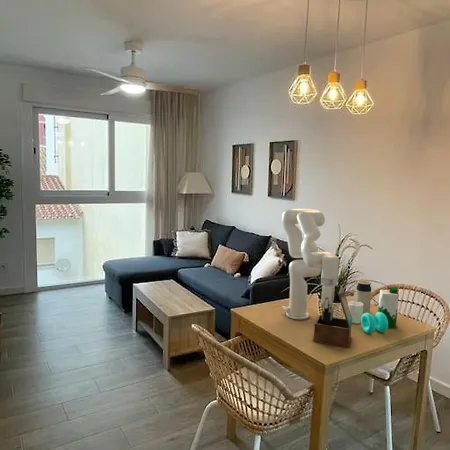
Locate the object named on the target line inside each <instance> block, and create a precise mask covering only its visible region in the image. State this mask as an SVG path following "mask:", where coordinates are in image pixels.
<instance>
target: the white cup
mask: <svg viewBox="0 0 450 450" xmlns="http://www.w3.org/2000/svg"><path fill="white" fill-rule="evenodd" d="M347 302H348V305H349V309H350V312H351V315H352V324H356V325H357V324H361V318H362V315H363V314H362V313H363V305H364V304H363V303H361V302H357V301H356V300H351V301H347Z"/></svg>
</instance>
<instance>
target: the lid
mask: <svg viewBox="0 0 450 450" xmlns="http://www.w3.org/2000/svg"><path fill="white" fill-rule="evenodd" d="M355 294H356V290H355V289H351V290H350V291H345V289H344V287H343V286H340V289H339V291H338V293H337V296H338V299H339V301H340V304H341V309H342V312H343V315H344V319H346V322H347V325H348V328H350V327H351V328H352V324H353V323H352V315H351V312H350V309H349V305H348V302H349V301H348V299H347V297H354V295H355ZM351 323H352V324H351Z"/></svg>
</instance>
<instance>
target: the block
mask: <svg viewBox="0 0 450 450" xmlns="http://www.w3.org/2000/svg"><path fill="white" fill-rule="evenodd" d="M323 311H324V307H323V308H322V310H321V315H322V319H323ZM333 317H334V308H333V307H332V308H330V321H332V318H333Z"/></svg>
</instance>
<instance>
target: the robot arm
mask: <svg viewBox="0 0 450 450" xmlns="http://www.w3.org/2000/svg"><path fill="white" fill-rule="evenodd" d="M325 221H326V219H325V214H324V213H323V212H322V211H321V210H317V209H314V208H289V209H286V210H284V211H283V212H282V215H281V222H282V226H283V229H284V232H285V234H286V240H287V247H288V253H289V256H290V257H291V258H294V260H292V261H291V262H290V263H289V265H288V272H289V299H288V300H289V301H288V302H289V304H288V305H287V306H285V305H281V310H282V311H283V312H285V316H286V317H288V318H290V319H293V320H307V319H308V318H310V314H309V312H307V307H308V283H307V280H305V278H313V277H318V276H319V275H321V276H320V284H321V285H322V288H321V297H320V298H321V299H320V301H321V302H320V306H323V308H324V311H323V320H328V321H330V308H332V309H333V304H334V300H335V291H336V289H335V288H336V287H337V286H338V280H339V279H338V278H339V260H340V258H339V256H337V255H335V254H333V253H332V252H330V251H319V249H318V245H317V244H316V241H318V240H319V238H320V237H321V231H320V228H319V227H322V226H324V224H325ZM297 225H298V226H299V227H298V226H297Z"/></svg>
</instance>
